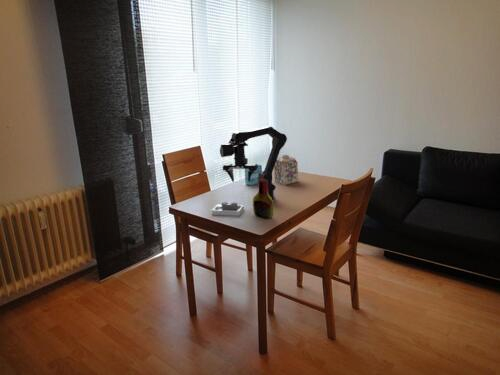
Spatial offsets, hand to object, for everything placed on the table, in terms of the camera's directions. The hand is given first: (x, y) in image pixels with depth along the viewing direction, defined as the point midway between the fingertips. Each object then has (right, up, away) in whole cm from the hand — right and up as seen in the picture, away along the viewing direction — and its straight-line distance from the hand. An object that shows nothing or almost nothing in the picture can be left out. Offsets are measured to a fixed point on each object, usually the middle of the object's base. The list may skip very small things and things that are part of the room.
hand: (241, 182), depth 199 cm
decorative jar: (+29, +1, +41) cm, 50 cm away
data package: (+8, 0, +42) cm, 42 cm away
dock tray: (-7, -16, -7) cm, 19 cm away
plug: (-7, -15, -7) cm, 18 cm away
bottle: (+12, -18, -16) cm, 27 cm away
